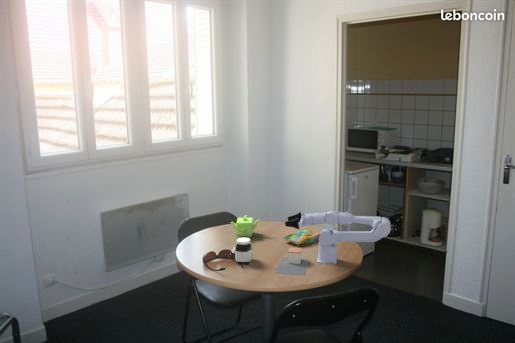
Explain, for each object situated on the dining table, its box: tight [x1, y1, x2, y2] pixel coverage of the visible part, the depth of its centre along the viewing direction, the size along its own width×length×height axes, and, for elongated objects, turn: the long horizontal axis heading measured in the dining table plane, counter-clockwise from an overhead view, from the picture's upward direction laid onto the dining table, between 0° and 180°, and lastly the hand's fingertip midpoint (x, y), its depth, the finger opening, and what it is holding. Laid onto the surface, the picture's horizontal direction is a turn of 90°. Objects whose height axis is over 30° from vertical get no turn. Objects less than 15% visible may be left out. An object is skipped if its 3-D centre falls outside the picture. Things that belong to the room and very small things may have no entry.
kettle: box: [230, 214, 261, 239], centre depth 261 cm, size 15×14×11 cm
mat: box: [274, 256, 310, 276], centre depth 216 cm, size 14×20×1 cm
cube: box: [287, 247, 302, 264], centre depth 221 cm, size 6×6×6 cm
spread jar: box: [230, 237, 253, 265], centre depth 223 cm, size 12×11×12 cm
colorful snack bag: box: [281, 228, 321, 247], centre depth 251 cm, size 12×5×20 cm
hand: (286, 221), depth 224 cm, fingers open, 7 cm apart
